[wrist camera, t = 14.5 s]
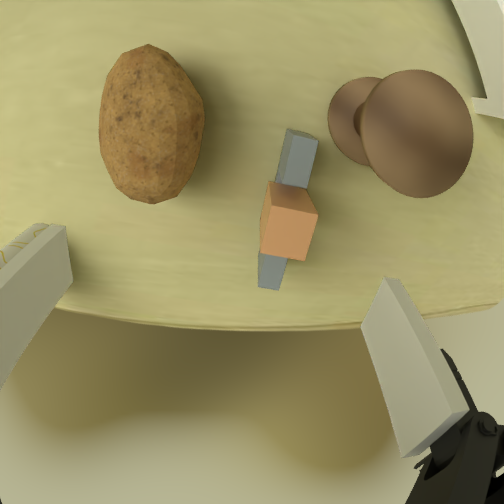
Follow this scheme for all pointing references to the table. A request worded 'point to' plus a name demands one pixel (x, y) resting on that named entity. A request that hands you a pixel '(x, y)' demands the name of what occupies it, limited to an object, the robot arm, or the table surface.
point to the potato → (150, 125)
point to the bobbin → (404, 130)
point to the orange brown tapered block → (287, 221)
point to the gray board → (294, 174)
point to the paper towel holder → (486, 49)
